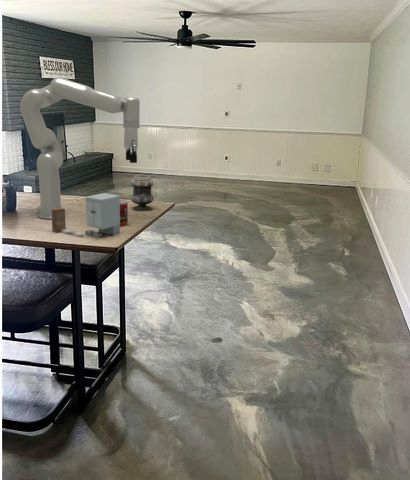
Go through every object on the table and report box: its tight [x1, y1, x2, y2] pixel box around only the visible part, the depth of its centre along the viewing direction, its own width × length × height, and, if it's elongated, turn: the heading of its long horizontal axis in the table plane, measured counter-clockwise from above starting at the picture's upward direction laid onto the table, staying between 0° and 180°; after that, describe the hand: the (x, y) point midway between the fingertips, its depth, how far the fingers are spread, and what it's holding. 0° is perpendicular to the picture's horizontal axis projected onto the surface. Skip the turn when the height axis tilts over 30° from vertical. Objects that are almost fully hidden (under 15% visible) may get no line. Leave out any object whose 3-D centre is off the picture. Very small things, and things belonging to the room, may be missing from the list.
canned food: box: [120, 199, 129, 227], centre depth 229 cm, size 8×8×11 cm
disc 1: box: [84, 229, 96, 237], centre depth 212 cm, size 4×4×2 cm
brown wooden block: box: [51, 207, 84, 238], centre depth 210 cm, size 16×4×10 cm, turn 58°
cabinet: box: [85, 192, 121, 236], centre depth 211 cm, size 9×12×17 cm
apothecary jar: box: [130, 174, 154, 212], centre depth 260 cm, size 12×12×18 cm
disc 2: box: [92, 231, 103, 239], centre depth 209 cm, size 4×4×2 cm
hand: (131, 161), depth 233 cm, fingers open, 9 cm apart
